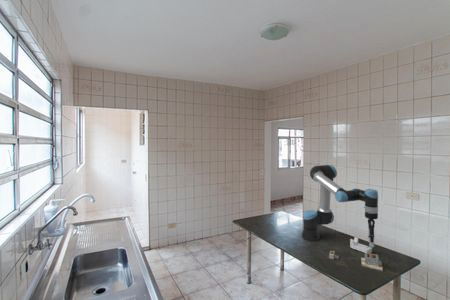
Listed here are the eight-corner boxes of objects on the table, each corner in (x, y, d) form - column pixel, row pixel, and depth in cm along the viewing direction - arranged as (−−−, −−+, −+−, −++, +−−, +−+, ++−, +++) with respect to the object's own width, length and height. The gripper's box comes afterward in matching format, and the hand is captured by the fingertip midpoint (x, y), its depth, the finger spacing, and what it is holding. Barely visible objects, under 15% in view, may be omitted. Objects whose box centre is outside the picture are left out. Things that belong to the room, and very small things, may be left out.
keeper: (361, 258, 172) (361, 249, 171) (381, 262, 166) (381, 252, 166) (361, 266, 161) (361, 256, 161) (382, 271, 155) (382, 260, 155)
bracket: (350, 248, 188) (350, 239, 188) (355, 246, 192) (355, 237, 192) (367, 255, 177) (367, 245, 177) (372, 252, 181) (372, 242, 181)
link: (364, 259, 169) (364, 252, 169) (377, 261, 165) (377, 254, 165) (364, 264, 162) (364, 257, 162) (378, 267, 158) (378, 260, 158)
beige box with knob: (330, 254, 179) (330, 249, 179) (334, 255, 178) (334, 250, 177) (329, 258, 174) (329, 253, 174) (333, 259, 172) (333, 254, 172)
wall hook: (333, 256, 176) (333, 254, 176) (338, 257, 175) (338, 255, 174) (332, 257, 174) (332, 255, 174) (338, 258, 172) (338, 256, 172)
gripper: (364, 206, 175) (364, 234, 176) (365, 217, 153) (365, 249, 154) (376, 207, 171) (376, 236, 172) (379, 218, 149) (379, 251, 150)
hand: (371, 242), depth 163 cm, fingers open, 13 cm apart
